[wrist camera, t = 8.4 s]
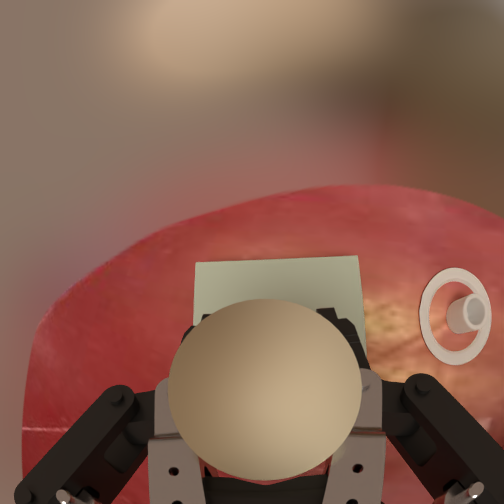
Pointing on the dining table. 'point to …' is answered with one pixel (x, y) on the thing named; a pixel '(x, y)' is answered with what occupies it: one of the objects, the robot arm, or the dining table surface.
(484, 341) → the candle holder
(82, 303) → the dining table surface
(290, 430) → the birch peg
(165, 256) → the dining table surface
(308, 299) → the square hole plate
